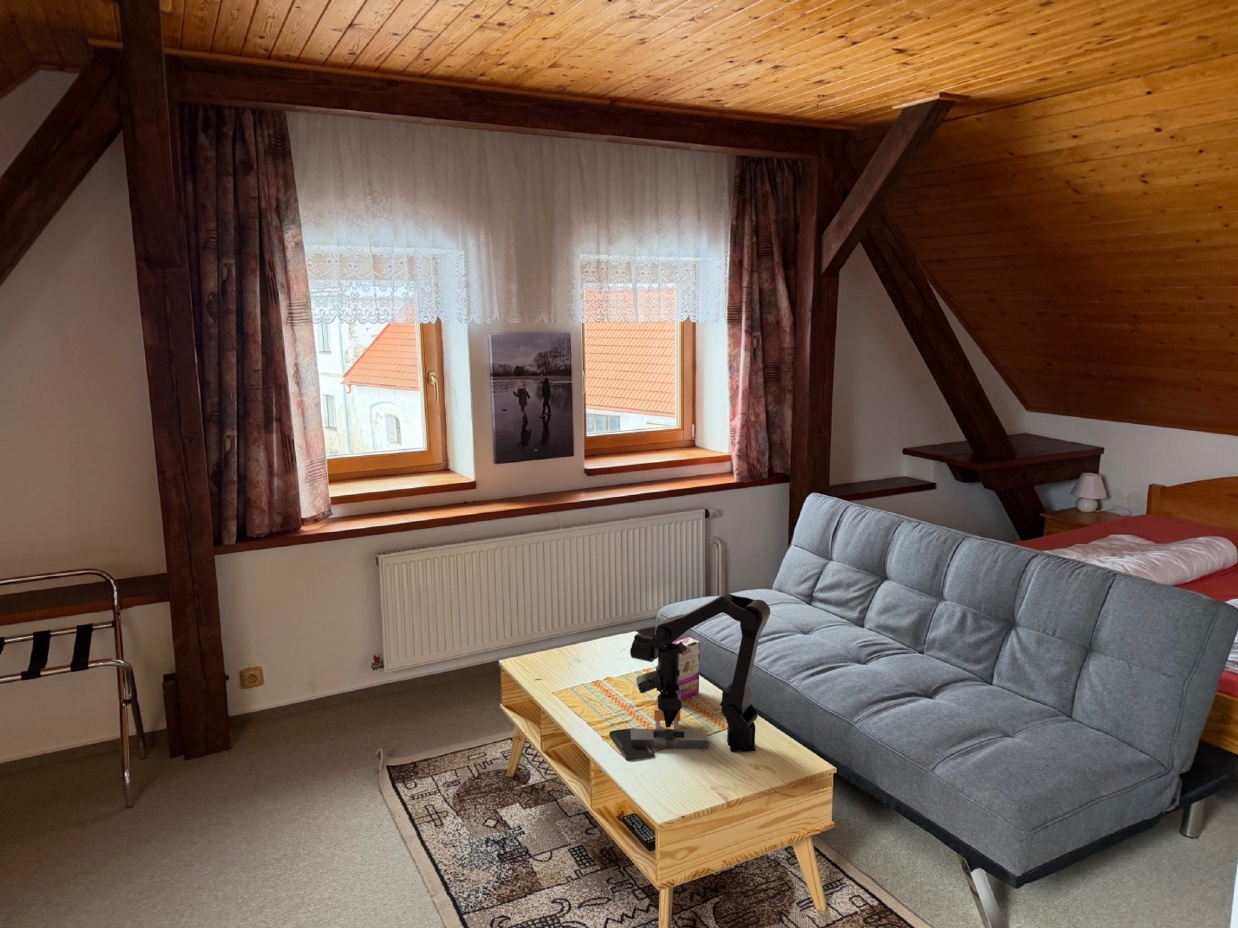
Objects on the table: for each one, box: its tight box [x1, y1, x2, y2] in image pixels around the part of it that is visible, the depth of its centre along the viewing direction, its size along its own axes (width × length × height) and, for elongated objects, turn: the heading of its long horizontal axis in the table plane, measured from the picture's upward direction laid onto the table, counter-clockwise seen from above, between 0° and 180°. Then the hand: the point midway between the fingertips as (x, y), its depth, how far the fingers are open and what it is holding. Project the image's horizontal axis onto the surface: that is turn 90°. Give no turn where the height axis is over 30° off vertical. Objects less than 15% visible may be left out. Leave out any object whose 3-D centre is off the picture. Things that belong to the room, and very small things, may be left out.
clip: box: [653, 705, 681, 729], centre depth 243 cm, size 7×2×6 cm, turn 90°
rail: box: [630, 728, 709, 750], centre depth 234 cm, size 20×6×2 cm, turn 90°
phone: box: [609, 727, 655, 761], centre depth 233 cm, size 8×1×15 cm
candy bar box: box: [672, 636, 701, 701], centre depth 262 cm, size 11×5×16 cm, turn 129°
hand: (666, 719), depth 243 cm, fingers open, 9 cm apart
